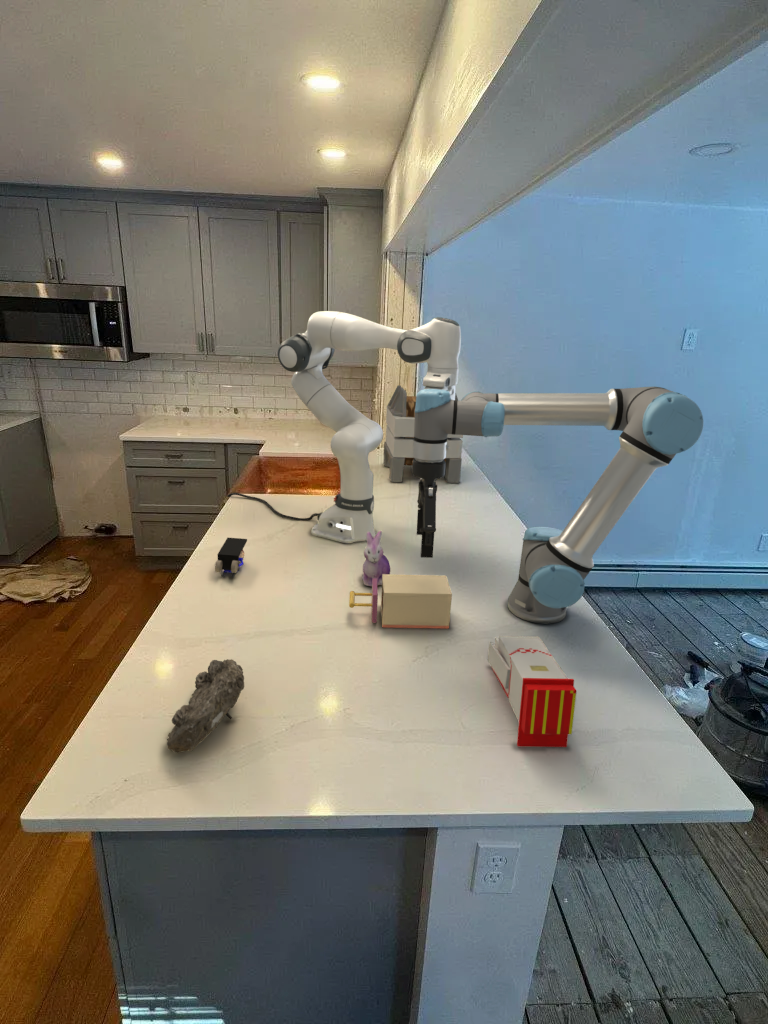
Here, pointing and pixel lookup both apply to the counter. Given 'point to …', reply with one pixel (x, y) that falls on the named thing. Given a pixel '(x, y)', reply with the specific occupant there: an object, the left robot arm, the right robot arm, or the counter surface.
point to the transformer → (402, 436)
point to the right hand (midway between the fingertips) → (424, 545)
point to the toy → (534, 690)
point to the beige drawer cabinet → (416, 601)
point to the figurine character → (230, 556)
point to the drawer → (373, 601)
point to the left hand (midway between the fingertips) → (438, 425)
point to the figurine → (374, 560)
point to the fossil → (206, 705)
